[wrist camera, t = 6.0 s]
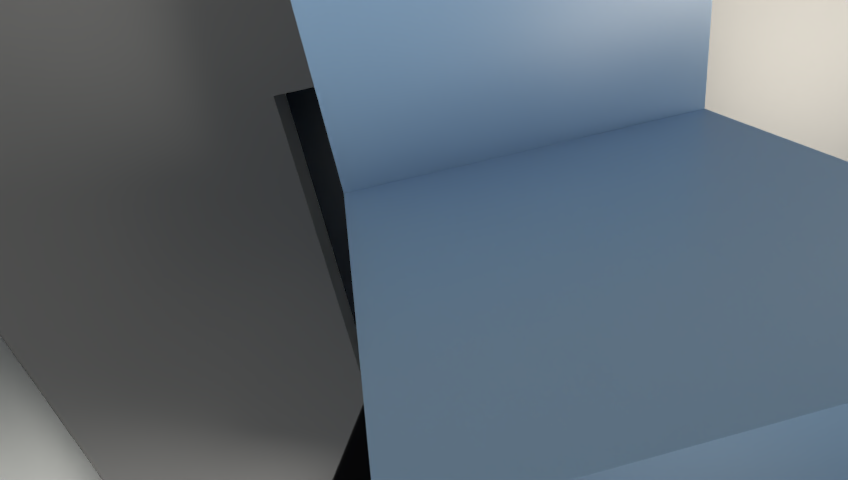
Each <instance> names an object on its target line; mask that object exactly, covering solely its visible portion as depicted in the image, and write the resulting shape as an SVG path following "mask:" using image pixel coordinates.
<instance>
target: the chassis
mask: <svg viewBox="0 0 848 480" xmlns="http://www.w3.org/2000/svg"><path fill="white" fill-rule="evenodd" d="M312 87H314V84H313V80H312V77H311V73H310V69H309V66H308V62H307V59H306V55H305V51H304V48H303V44H302V40H301V37H300V33H299V30H298V26H297V22H296V19H295V15H294V11H293V8H292V4H291V1H290V0H0V335H1V337H2V338H3V340H4V341H5V342H6V344H7V345H8V347H9V348H10V350H11V351H12V352H13V354H14V355H15V357H16V358H17V359H18V361H19V362H20V364H21V365H22V367H23V368H24V369H25V371H26V372H27V374H28V375H29V376H30V378H31V379H32V381H33V382H34V384H35V385H36V386H37V388H38V389H39V391H40V392H41V393H42V395H43V396H44V398H45V399H46V401H47V402H48V403H49V405H50V406H51V408H52V409H53V410H54V412H55V413H56V415H57V416H58V417H59V419H60V420H61V422H62V423H63V425H64V426H65V427H66V429H67V430H68V432H69V433H70V434H71V436H72V437H73V439H74V440H75V442H76V443H77V444H78V446H79V447H80V449H81V450H82V451H83V453H84V454H85V456H86V457H87V459H88V460H89V461H90V463H91V464H92V466H93V467H94V468H95V470H96V471H97V473H98V474H99V476H100V477H101V478H102V480H333V477H334V475H335V472H336V470H337V467H338V465H339V462H340V460H341V457H342V455H343V452H344V450H345V447H346V445H347V442H348V440H349V437H350V435H351V432H352V430H353V427H354V425H355V423H356V420H357V418H358V415H359V413H360V410H361V408H362V405H363V403H364V401H363V390H362V380H361V369H360V359H359V348H358V338H357V329H356V325H355V322H354V319H353V316H352V312H351V309H350V306H349V302H348V299H347V296H346V292H345V289H344V286H343V282H342V279H341V276H340V272H339V269H338V266H337V262H336V259H335V256H334V253H333V249H332V246H331V243H330V239H329V236H328V233H327V229H326V226H325V223H324V219H323V216H322V213H321V209H320V206H319V203H318V199H317V196H316V193H315V190H314V186H313V183H312V180H311V176H310V173H309V170H308V166H307V163H306V160H305V156H304V153H303V150H302V146H301V143H300V140H299V137H298V133H297V130H296V127H295V123H294V120H293V117H292V113H291V110H290V107H289V103H288V100H287V97H286V93H289V92H294V91H299V90H303V89H308V88H312ZM705 109H707V110H710V111H712V112H715V113H718V114H720V115H723V116H726V117H728V118H731V119H734V120H737V121H739V122H742V123H745V124H747V125H750V126H753V127H756V128H758V129H761V130H764V131H766V132H769V133H772V134H774V135H777V136H780V137H783V138H785V139H788V140H791V141H793V142H796V143H799V144H801V145H804V146H807V147H810V148H812V149H815V150H818V151H820V152H823V153H826V154H828V155H831V156H834V157H837V158H839V159H842V160H845V161H847V162H848V0H712V12H711V26H710V40H709V54H708V68H707V82H706V96H705Z"/></svg>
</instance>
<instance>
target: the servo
mask: <svg viewBox="0 0 848 480" xmlns="http://www.w3.org/2000/svg"><path fill="white" fill-rule="evenodd" d="M290 1H291V4H292V8H293V11H294V15H295V19H296V22H297V26H298V30H299V33H300V37H301V40H302V44H303V48H304V51H305V55H306V59H307V62H308V66H309V69H310V73H311V77H312V80H313V84H314V88H315V91H316V95H317V98H318V102H319V106H320V109H321V113H322V117H323V120H324V124H325V127H326V131H327V135H328V138H329V142H330V146H331V149H332V153H333V156H334V160H335V164H336V167H337V171H338V175H339V178H340V182H341V185H342V189H343V193H344V202H345V212H346V223H347V233H348V244H349V254H350V265H351V275H352V286H353V296H354V307H355V317H356V328H357V338H358V348H359V359H360V369H361V380H362V390H363V401H364V411H365V422H366V432H367V443H368V453H369V464H370V474H371V480H848V162H847V161H845V160H842V159H839V158H837V157H834V156H831V155H828V154H826V153H823V152H820V151H818V150H815V149H812V148H810V147H807V146H804V145H801V144H799V143H796V142H793V141H791V140H788V139H785V138H783V137H780V136H777V135H774V134H772V133H769V132H766V131H764V130H761V129H758V128H756V127H753V126H750V125H747V124H745V123H742V122H739V121H737V120H734V119H731V118H728V117H726V116H723V115H720V114H718V113H715V112H712V111H710V110H707V109H705V96H706V82H707V68H708V54H709V40H710V26H711V12H712V0H290Z"/></svg>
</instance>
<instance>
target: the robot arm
mask: <svg viewBox="0 0 848 480" xmlns="http://www.w3.org/2000/svg"><path fill="white" fill-rule="evenodd" d="M333 480H371V474H370V464H369V453H368V443H367V432H366V422H365V411H364V403H363V405H362V408H361V410H360V413H359V415H358V418H357V420H356V423H355V425H354V427H353V430H352V432H351V435H350V437H349V440H348V442H347V445H346V447H345V450H344V452H343V455H342V457H341V460H340V462H339V465H338V467H337V470H336V472H335V475H334V477H333Z"/></svg>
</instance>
